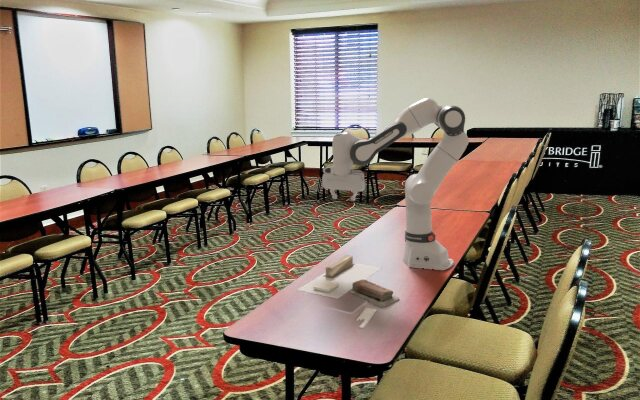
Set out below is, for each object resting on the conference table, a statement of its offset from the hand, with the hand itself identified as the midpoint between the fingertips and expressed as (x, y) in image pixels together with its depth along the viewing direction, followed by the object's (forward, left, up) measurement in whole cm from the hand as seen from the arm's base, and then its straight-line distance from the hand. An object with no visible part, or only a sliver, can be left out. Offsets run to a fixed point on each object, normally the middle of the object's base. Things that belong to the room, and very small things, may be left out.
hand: (343, 199), depth 234 cm
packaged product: (-30, +31, -30) cm, 52 cm away
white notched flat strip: (-35, +49, -30) cm, 67 cm away
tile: (-10, +29, -28) cm, 41 cm away
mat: (-10, +21, -29) cm, 37 cm away
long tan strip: (-4, +13, -28) cm, 31 cm away
